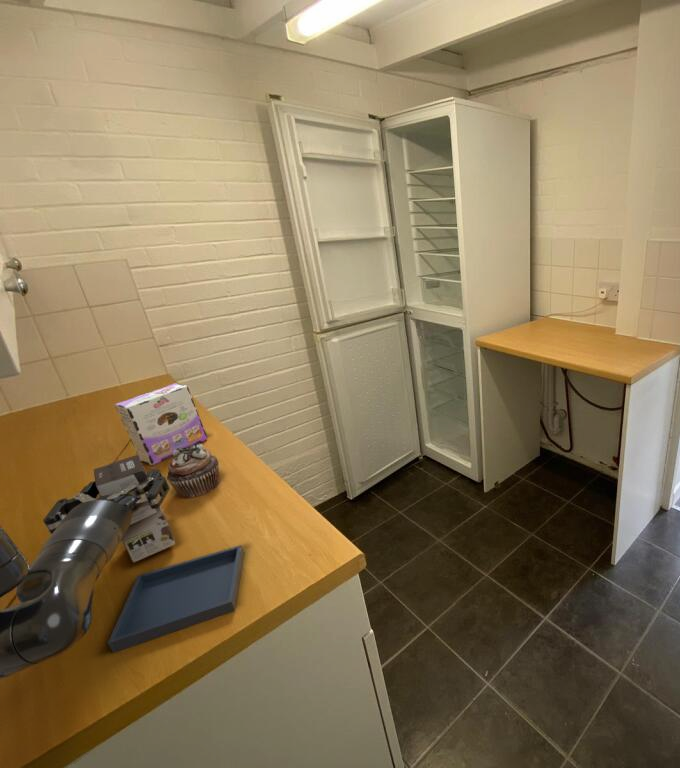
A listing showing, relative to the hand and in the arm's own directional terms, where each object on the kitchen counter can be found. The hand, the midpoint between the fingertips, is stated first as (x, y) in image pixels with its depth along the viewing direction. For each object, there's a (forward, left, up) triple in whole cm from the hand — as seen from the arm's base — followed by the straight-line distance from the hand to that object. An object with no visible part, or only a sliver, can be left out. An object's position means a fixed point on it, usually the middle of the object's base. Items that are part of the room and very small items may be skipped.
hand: (126, 479), depth 74 cm
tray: (+8, -17, -15) cm, 24 cm away
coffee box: (0, -1, -14) cm, 14 cm away
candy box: (-5, +40, -15) cm, 43 cm away
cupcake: (+4, +17, -15) cm, 23 cm away
